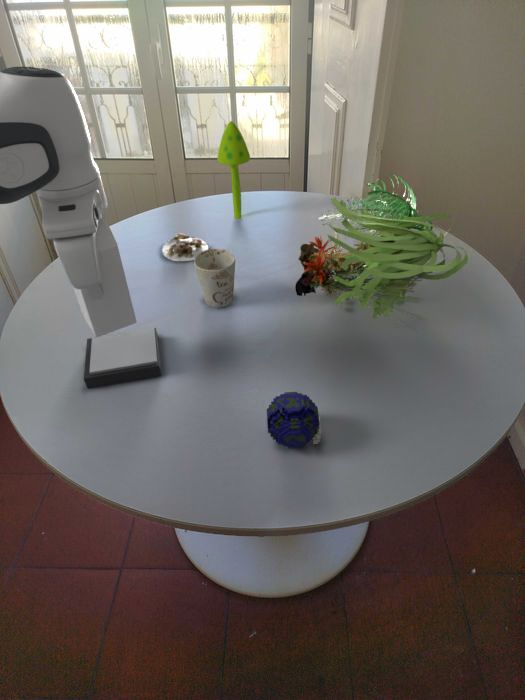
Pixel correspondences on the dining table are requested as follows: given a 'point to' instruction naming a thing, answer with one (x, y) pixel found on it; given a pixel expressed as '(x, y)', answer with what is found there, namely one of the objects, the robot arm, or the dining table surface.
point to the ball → (293, 420)
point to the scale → (122, 358)
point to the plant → (377, 253)
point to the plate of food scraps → (183, 248)
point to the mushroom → (233, 160)
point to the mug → (216, 276)
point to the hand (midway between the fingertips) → (99, 280)
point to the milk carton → (108, 289)
